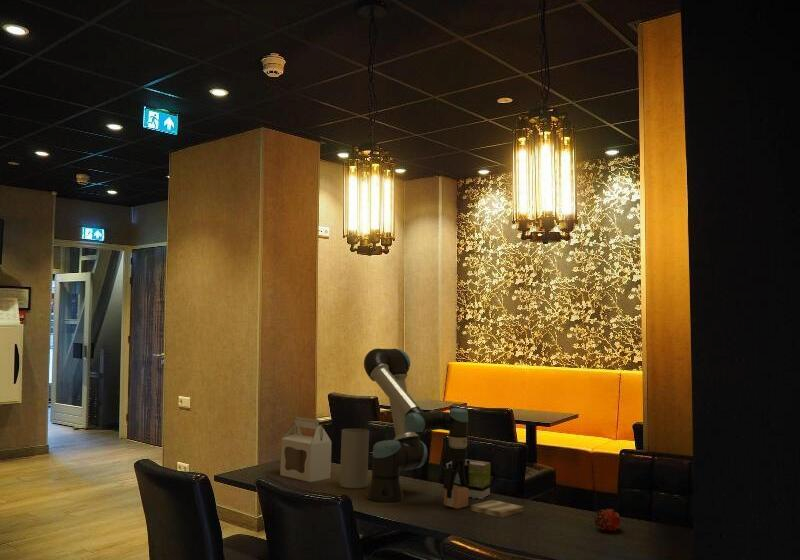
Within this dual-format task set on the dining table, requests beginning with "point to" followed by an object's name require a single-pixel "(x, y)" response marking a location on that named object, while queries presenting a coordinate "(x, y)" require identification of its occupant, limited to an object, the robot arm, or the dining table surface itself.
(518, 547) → the dining table surface
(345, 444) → the cylinder vase
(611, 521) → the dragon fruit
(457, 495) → the terracotta cube
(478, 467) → the tea box
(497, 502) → the birch board
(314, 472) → the gable box
